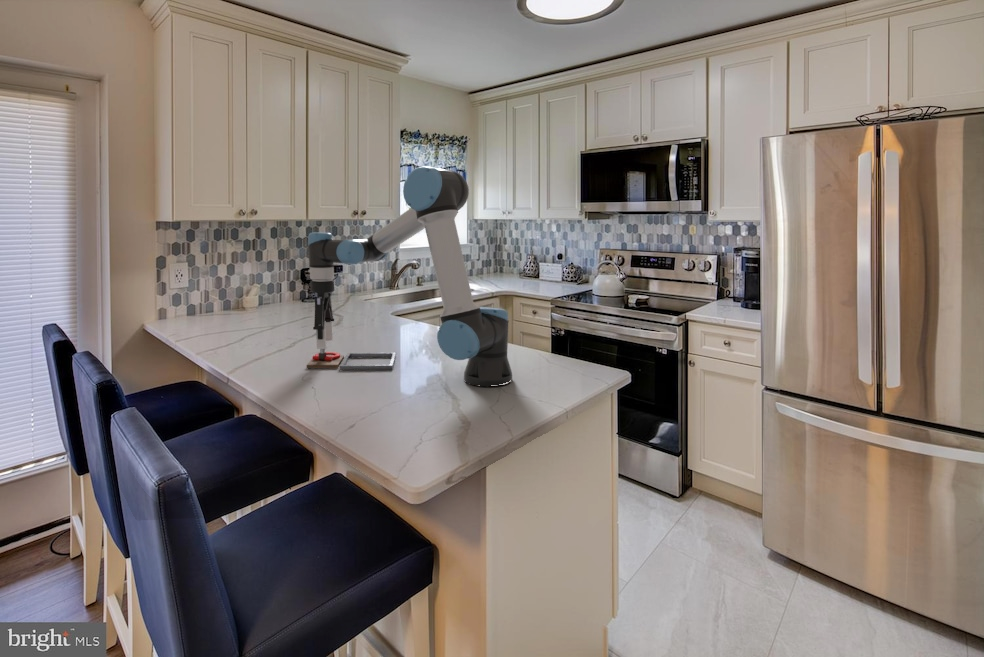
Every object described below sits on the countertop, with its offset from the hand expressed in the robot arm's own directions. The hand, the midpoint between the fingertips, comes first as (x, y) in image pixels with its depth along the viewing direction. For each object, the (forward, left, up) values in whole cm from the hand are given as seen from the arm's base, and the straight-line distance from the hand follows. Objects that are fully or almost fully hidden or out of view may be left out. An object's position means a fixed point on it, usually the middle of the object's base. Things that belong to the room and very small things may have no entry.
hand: (325, 344), depth 176 cm
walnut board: (0, 0, -7) cm, 7 cm away
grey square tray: (0, -14, -7) cm, 16 cm away
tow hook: (+4, 0, -6) cm, 7 cm away
